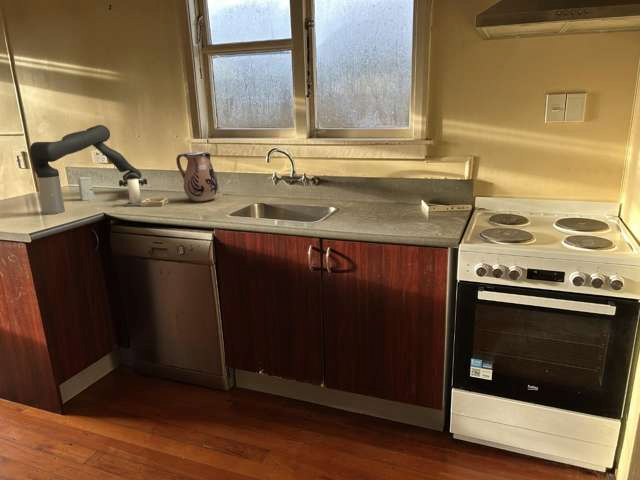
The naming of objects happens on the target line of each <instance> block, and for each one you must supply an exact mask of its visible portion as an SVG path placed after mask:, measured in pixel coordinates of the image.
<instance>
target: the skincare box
mask: <svg viewBox="0 0 640 480" xmlns="http://www.w3.org/2000/svg"><path fill="white" fill-rule="evenodd" d="M77 183H78V189H79V190H78V191H79V197H80V200H81V201H92V200H95V195H94V187H93V181H92V177H90V176H87V177H77Z"/></svg>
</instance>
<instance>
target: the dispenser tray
mask: <svg viewBox="0 0 640 480" xmlns="http://www.w3.org/2000/svg"><path fill="white" fill-rule="evenodd" d="M141 201H142V202H140V206H139V207H142V208H143V207H163V206H165V205H167V204H169V203H170V197H150V198H149V197H148V198H146V199H144V200H141Z"/></svg>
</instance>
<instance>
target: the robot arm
mask: <svg viewBox="0 0 640 480" xmlns="http://www.w3.org/2000/svg"><path fill="white" fill-rule="evenodd" d="M110 138H111V131H110V129H109V128H108V127H107V126H105V125H104V124H98V125H94V126H92V127H88V128H87V129H85V130H81V131H76V132H72V133H68V134H66V135H64V136H63V137H62V138H61V139H60V140H57V141H36V142H35V141H34V142H33V143H32V144H31V145H30V147H29V148H30V149H29V154H30V158H31V163H32V168H33V171H34V173H35V174H36V178H37V184H38V190H39V194H38V195H39V196H38V197H39V200H40V207H41V213H42V215H54V214H60V213H64V212H65V211H66V208H65V203H64V197H63V191H62V185H61V179H60V178H61V177H60V171H59V170H58V169H57V168H54V167H52V166H51V165H50V163H53V162H56V161H58V160H60V159H62V158H64V157H65V156H68V155H72V154H74V153H78V152H81V151H83V150H85V149H87V148H89V147H91V146H93V147H94V148H95V149H96V150H97V151H98V152H100V153H101V154H102V155H104V156H105V157H106V158H107V159H108V160H109V161H110V162H111V163H112V165H114V167H115V168H116V169H117V170H118V171H119V172H120V173H124V174H123V175H122V179H119V181H118V186H119V187H125V188H126V187H128V182H127V180H129V179H138V182H139V186H144V185H146V186H147V185H148V180H147V178H143V179H142V172H141V171H140V170H139V169H137V167H134V166H133V165H132V164H130V163H129V162H128V160H127V159H126V158H125V157H124V156H123V155H122V154H121V153H120V152H118V151H116V150H115V149H113V148H111V147H109V146H107V145H106V144H105V142H107V141H108V140H109V139H110ZM125 172H126V173H125Z"/></svg>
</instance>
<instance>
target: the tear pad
mask: <svg viewBox="0 0 640 480" xmlns="http://www.w3.org/2000/svg"><path fill="white" fill-rule="evenodd" d="M142 201H143V200H141V202H142ZM122 207H124V208H125V207H141V206H140V203H138V204H130V201H129V202H126V203H125V204H123V205H122Z"/></svg>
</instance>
